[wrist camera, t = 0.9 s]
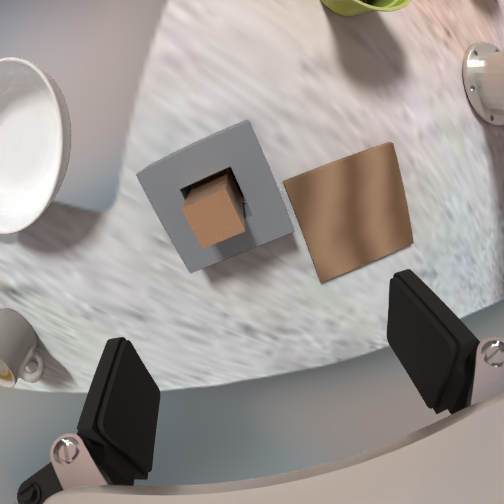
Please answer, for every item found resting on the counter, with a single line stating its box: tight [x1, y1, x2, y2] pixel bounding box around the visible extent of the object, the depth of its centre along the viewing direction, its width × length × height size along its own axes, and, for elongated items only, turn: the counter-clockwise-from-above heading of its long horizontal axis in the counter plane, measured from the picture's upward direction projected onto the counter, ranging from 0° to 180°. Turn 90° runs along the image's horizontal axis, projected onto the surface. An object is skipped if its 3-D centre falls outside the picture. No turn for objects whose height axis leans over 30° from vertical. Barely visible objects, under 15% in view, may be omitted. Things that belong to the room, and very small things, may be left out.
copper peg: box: [181, 168, 245, 249], centre depth 30 cm, size 4×4×10 cm
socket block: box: [136, 120, 294, 273], centre depth 32 cm, size 12×12×5 cm
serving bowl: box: [0, 57, 71, 234], centre depth 26 cm, size 21×21×7 cm
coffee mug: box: [0, 308, 45, 388], centre depth 38 cm, size 13×10×10 cm
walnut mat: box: [283, 142, 414, 282], centre depth 36 cm, size 14×14×1 cm
